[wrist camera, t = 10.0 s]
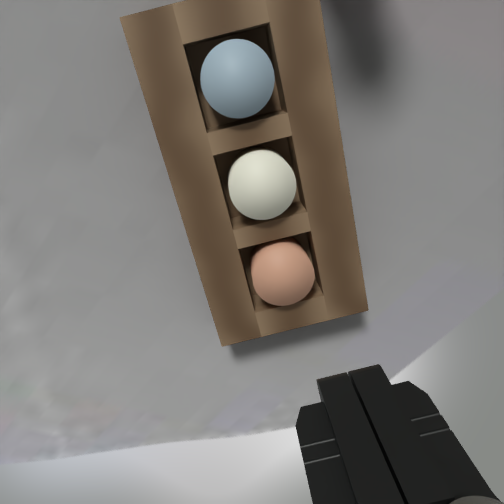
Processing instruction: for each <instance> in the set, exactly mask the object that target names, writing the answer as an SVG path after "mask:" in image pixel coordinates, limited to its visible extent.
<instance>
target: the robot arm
mask: <svg viewBox="0 0 504 504" xmlns="http://www.w3.org/2000/svg"><path fill="white" fill-rule="evenodd" d="M317 385H318V390H319V394H320V399H321V402H320V403H316V404H312V405H307V406H303V407H301V408H300V412H299V415H298V419H297V422H296V430H297V434H298V439H299V443H300V448H301V452H302V457H303V461H304V465H305V470H306V475H307V479H308V484H309V488H310V493H311V497H312V501H313V504H504V503H503V502H501V501H500V500H499V499H498V498H497V497H496V496H495V495H494V493H493V492H492V491H491V490H490V488H489V487H488V485H487V483H486V482H485V480H484V479H483V477H482V476H481V474H480V473H479V471H478V470H477V468H476V467H475V465H474V464H473V462H472V461H471V459H470V458H469V456H468V455H467V453H466V452H465V450H464V449H463V447H462V446H461V444H460V443H459V441H458V439H457V438H456V437H455V435H454V433H453V432H452V431H450V429H449V426H448V424H447V423H446V421H445V420H444V418H443V417H442V416H441V415H440V413H439V411H438V409H437V408H436V406H435V405H434V403H433V402H432V400H431V399H430V397H429V396H428V394H427V393H425V392H424V391H423V390H421V389H419V388H418V387H417V386H415V385H414V384H412V383H411V382H409V381H406V382H402V383H398V384H394V385H391V383H390V382H389V380H388V378H387V376H386V374H385V373H384V371H383V369H382V368H381V366H380V365H379V364H378V365H373V366H369V367H365V368H361V369H357V370H353V371H349V372H348V374H347V372H345V373H341V374H337V375H333V376H329V377H325V378H321V379H317Z"/></svg>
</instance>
